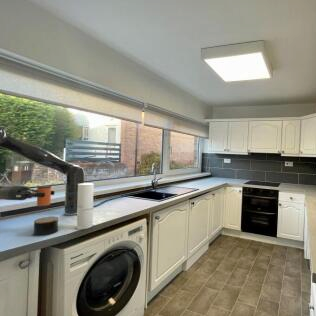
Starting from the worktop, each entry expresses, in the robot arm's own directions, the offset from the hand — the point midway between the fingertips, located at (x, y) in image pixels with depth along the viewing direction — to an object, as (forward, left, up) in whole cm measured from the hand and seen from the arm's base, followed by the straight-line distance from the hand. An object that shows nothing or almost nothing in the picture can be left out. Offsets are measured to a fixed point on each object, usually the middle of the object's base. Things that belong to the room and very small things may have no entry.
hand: (49, 193), depth 106 cm
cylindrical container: (-12, +11, -20) cm, 26 cm away
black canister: (+2, +3, -20) cm, 20 cm away
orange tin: (+1, -2, -6) cm, 7 cm away
